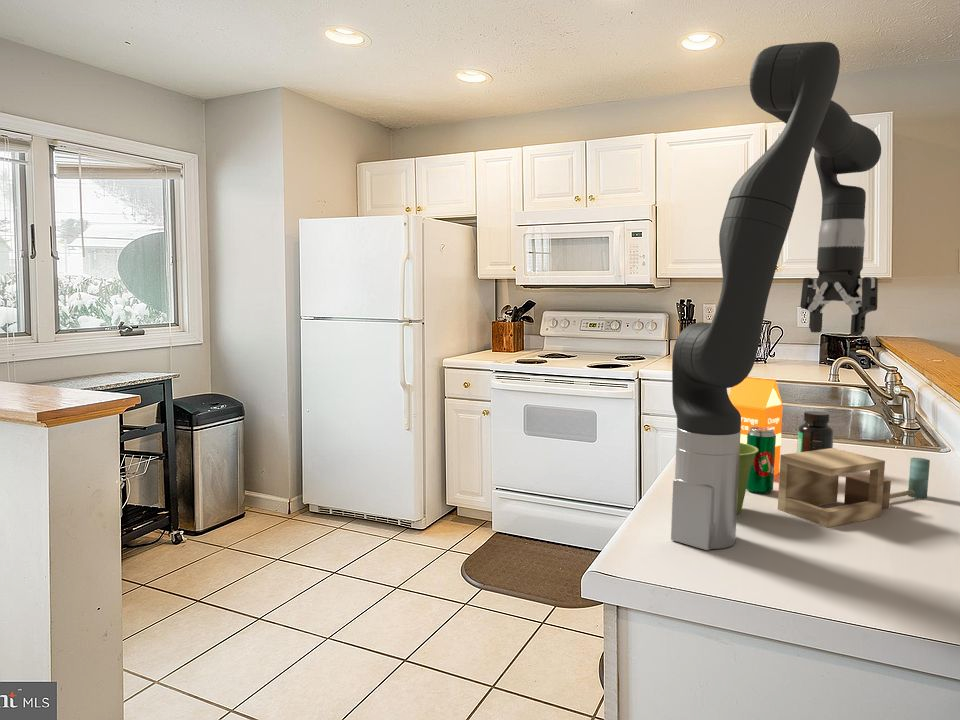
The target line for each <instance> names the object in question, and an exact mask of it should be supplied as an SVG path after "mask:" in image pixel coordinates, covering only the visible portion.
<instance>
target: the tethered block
mask: <svg viewBox="0 0 960 720" xmlns="http://www.w3.org/2000/svg"><path fill="white" fill-rule="evenodd" d="M930 462H931V460H930V459H928V458H922V457H910V462H909V463H910V465H909V477H908V487H907V488H908V490H903V491H899V492H893V493H891V485H892V480H890V479H887V478H884V483H883V497H882V511H883V510H887V509H890V501H891V500H890V499H896V498H899V497H905V496H908V497H910V496H911V498H913V497H914V498H913V499H918V498H926V499H927V498H928V488H929V475H930ZM869 479H870V474H868V473H860V474H854V475H848V476H847V475H846V476H845V484H844V498H843V499H844V501H843V504H844V505H849V504H854V503H860V502H865V501H868V493H869Z"/></svg>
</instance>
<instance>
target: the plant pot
mask: <svg viewBox="0 0 960 720" xmlns="http://www.w3.org/2000/svg"><path fill="white" fill-rule="evenodd" d="M758 451H759V450H758V448H756V447H754V446H752V445H749V444H744V443H740V455H739V476H738V497H737V514H740V513H741V511H742V510H743V505H744V501H745V497H746V496H745V495H746V491H747V489H746V487H747V482H748V478H749V473H750V469H751V466H752V465H753V461H754V457H755V454H756V453H758Z"/></svg>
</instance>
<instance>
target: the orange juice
mask: <svg viewBox="0 0 960 720" xmlns="http://www.w3.org/2000/svg"><path fill="white" fill-rule="evenodd" d="M780 394H781V393H780V392H779V387H778V384H777V380H776V379H769V378H760V377H754V376H753V377H752V376H747V377H746V378H745V379H744V380H743V381H742V382H741V383H740V384H738V385H736V386H734V387H731V388H730V391H729V393H728V396H729V399H730V401H731V402H732V404H733V405H734V406H735V408H736V409H737V410H738V411H739V413H740V415H741V436H740V443H744V444H747V433H748V432H749V430H750V427H767V428H771V429H774V433H775V435H776V445H775V463H774V476H775V475H778V474H780V458H781V445H782V424H783V423H782V421H783V407H784V405H783V402H782V397H781V395H780Z"/></svg>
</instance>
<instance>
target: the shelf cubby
mask: <svg viewBox="0 0 960 720" xmlns="http://www.w3.org/2000/svg"><path fill="white" fill-rule="evenodd" d="M885 464H886V460H883V459H878V458H876V457H871V456H866V455H863V454H858V453H855V452H852V451H851V452H850V451H846V450H842V449H838V448H835V447H833V448H829V449H821V450H814V451H806V452H799V453H797V452H793V453H792V452H791V453H785V454H780V463H779V478H778V495H777V497H778V498H777V499H778V500H777V509H778V510H780V511H782V512H784V513H787V514H790V515H792V516H794V517H798V518H800V519H803V520H807V521H809V522H811V523H814V524H816V525H820V526H823V527H825V528H830V527H836V526H837V527H838V526H841V525H845V524H852V523H855V522H856V523H857V522H862V521H865V520H871V519H872V520H873V519H876V518H880V517H881V518H882V511H883V510H882V497H883V483H884V479H885V468H886V465H885ZM866 471H867V472H868V471H869V475H870V479H869V493H868V501H865V502H860V503H854V504H849V505H847V504H844V505H840V506H833V507H829V508H823V507H820V506H823V505H824V506H825V505H830V504H834V503H838V490H839V479H840V478H839V477H840V476H841V475H849V474H852V473H854V474H855V473H859V472H860V473H861V472H866Z"/></svg>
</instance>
